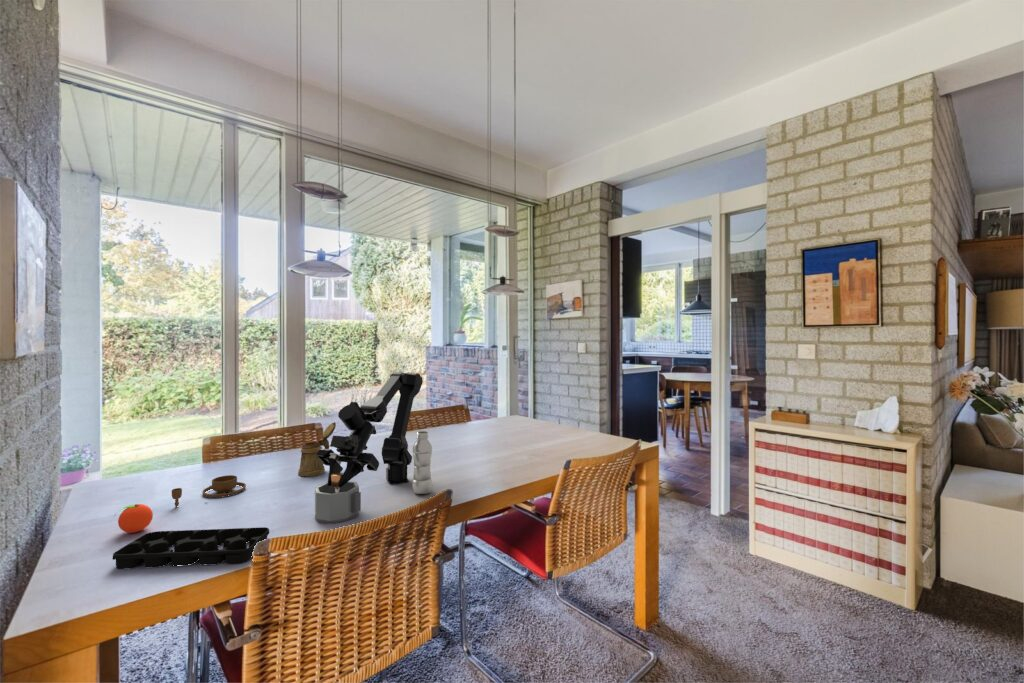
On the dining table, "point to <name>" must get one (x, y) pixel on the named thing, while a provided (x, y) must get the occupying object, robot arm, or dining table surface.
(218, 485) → the place setting
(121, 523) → the clementine
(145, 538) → the egg carton
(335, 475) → the plunger
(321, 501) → the press jug
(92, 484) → the dining table surface
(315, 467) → the wooden mug
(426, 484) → the plastic bottle
